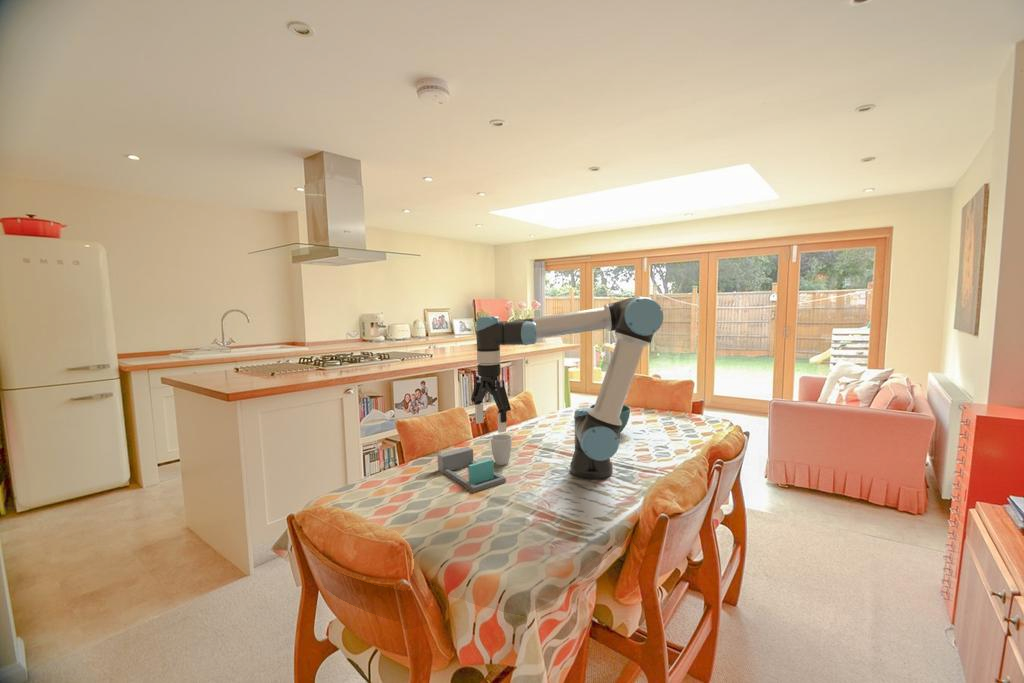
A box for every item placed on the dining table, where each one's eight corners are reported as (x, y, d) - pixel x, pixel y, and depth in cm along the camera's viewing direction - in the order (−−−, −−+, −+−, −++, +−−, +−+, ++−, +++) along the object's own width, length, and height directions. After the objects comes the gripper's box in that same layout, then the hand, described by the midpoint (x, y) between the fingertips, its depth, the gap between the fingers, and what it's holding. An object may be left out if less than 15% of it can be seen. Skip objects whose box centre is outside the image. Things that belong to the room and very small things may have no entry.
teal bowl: (599, 425, 215) (599, 401, 214) (635, 431, 205) (635, 405, 203) (583, 435, 201) (583, 409, 199) (621, 442, 190) (621, 414, 189)
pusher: (493, 478, 153) (493, 459, 152) (470, 485, 148) (470, 466, 147) (486, 474, 157) (486, 456, 156) (463, 481, 151) (463, 462, 151)
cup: (515, 460, 171) (515, 435, 170) (506, 467, 163) (506, 441, 163) (497, 457, 174) (496, 433, 173) (487, 464, 167) (486, 439, 166)
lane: (505, 482, 150) (505, 465, 150) (473, 492, 143) (473, 474, 142) (468, 461, 171) (467, 446, 170) (438, 469, 163) (437, 454, 163)
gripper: (521, 366, 134) (522, 433, 136) (478, 358, 154) (480, 417, 156) (500, 368, 130) (502, 438, 132) (460, 361, 150) (462, 421, 152)
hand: (490, 427), depth 144 cm, fingers open, 13 cm apart
